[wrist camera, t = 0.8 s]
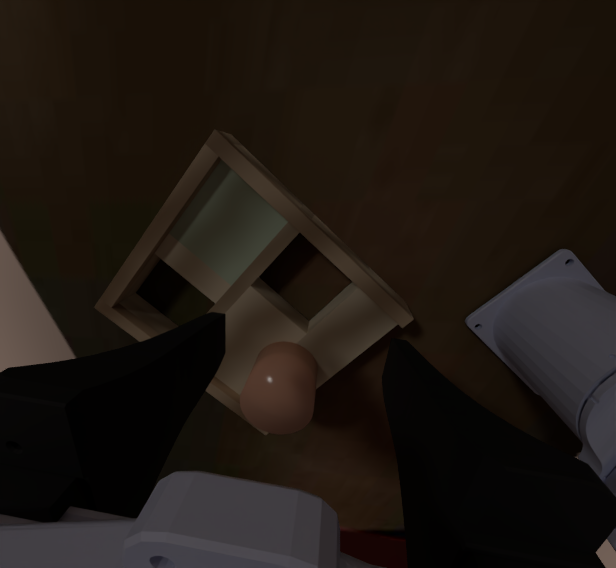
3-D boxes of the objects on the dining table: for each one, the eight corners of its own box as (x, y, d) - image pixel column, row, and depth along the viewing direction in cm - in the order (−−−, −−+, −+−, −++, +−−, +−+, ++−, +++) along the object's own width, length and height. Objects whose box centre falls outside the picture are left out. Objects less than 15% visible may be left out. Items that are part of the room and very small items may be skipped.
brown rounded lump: (331, 369, 23) (329, 408, 19) (289, 403, 24) (280, 445, 21) (283, 329, 22) (271, 362, 18) (243, 367, 23) (225, 403, 20)
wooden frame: (405, 301, 22) (413, 319, 20) (272, 410, 27) (265, 435, 25) (231, 134, 19) (214, 129, 17) (120, 292, 24) (94, 307, 22)
